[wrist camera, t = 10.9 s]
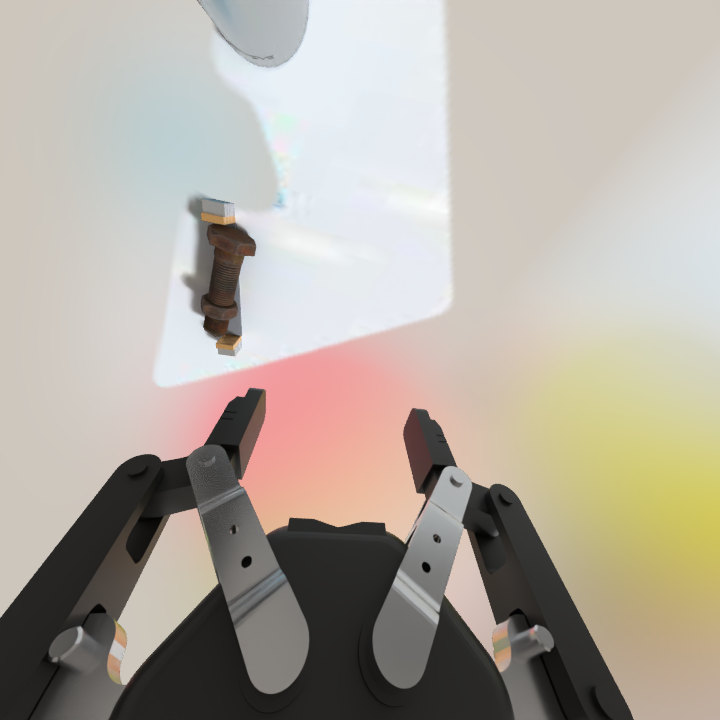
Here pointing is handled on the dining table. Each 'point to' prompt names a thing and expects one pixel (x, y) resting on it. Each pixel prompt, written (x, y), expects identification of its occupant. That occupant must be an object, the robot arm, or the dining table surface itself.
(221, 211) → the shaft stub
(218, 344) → the small wooden block
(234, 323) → the pad
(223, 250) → the bolt
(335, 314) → the dining table surface
